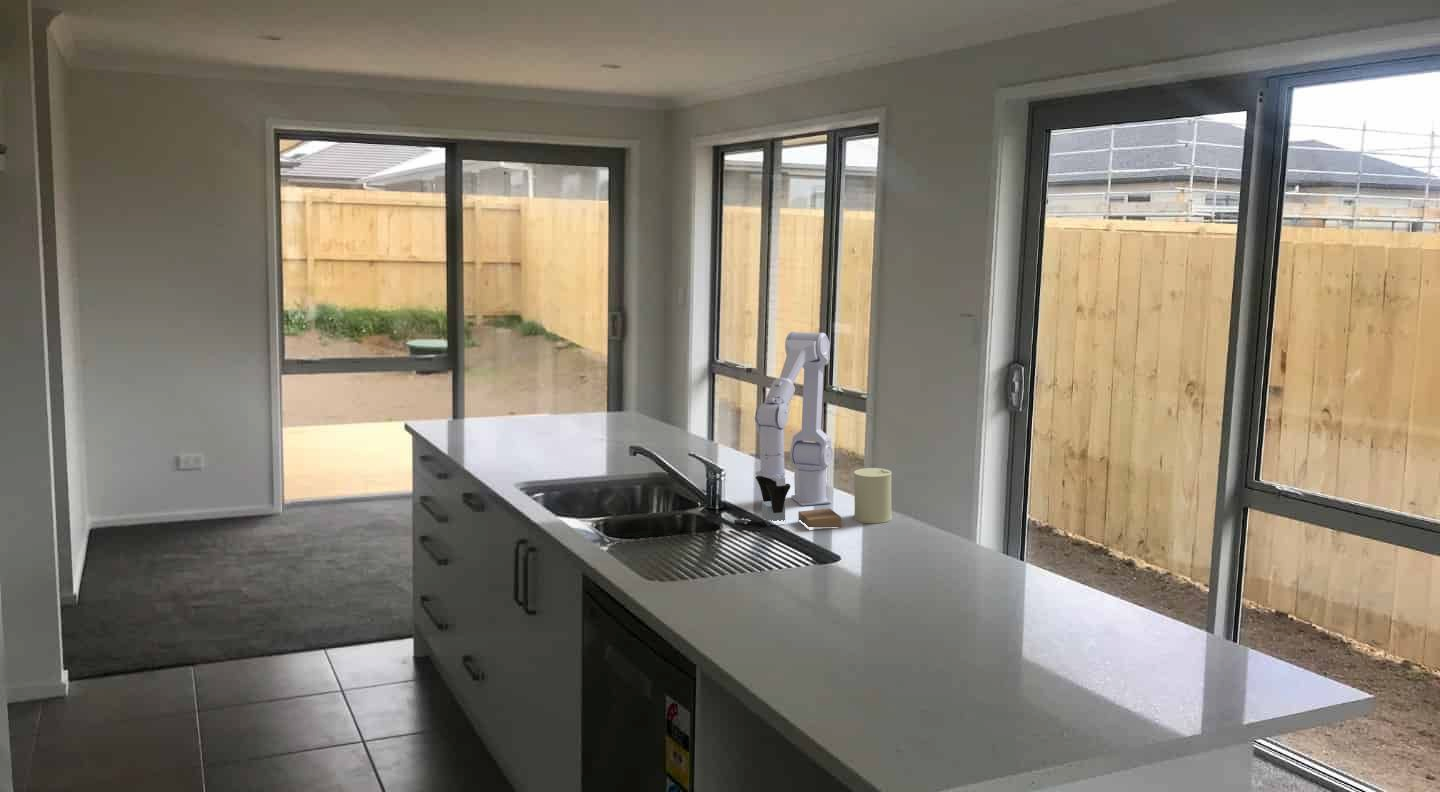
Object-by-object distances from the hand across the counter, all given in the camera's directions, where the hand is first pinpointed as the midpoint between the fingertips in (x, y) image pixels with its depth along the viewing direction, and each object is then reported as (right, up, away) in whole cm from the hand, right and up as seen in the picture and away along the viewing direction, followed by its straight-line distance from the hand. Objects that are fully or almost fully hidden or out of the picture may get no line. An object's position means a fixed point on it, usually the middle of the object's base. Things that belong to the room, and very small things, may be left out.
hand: (773, 508), depth 275 cm
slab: (+11, -4, -2) cm, 12 cm away
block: (0, -4, +1) cm, 4 cm away
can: (+24, -3, +2) cm, 25 cm away
